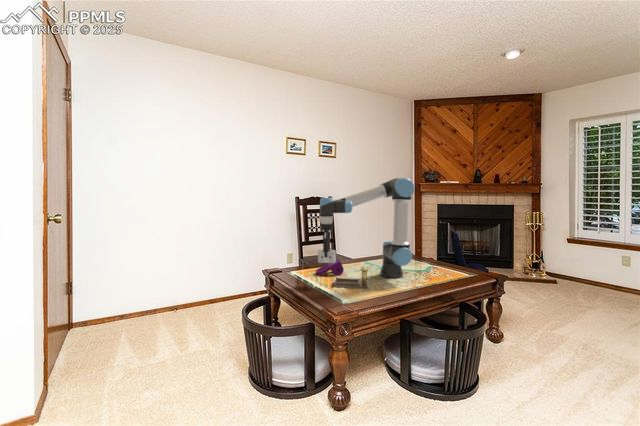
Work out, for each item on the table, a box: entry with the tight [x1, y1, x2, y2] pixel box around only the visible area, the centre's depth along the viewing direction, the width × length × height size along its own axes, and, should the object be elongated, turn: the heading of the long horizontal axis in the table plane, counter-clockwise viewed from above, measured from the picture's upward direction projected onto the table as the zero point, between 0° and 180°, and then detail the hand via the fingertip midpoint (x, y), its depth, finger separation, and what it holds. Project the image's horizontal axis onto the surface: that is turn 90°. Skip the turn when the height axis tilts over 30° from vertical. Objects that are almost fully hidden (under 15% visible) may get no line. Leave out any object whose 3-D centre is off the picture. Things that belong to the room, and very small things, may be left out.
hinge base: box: [333, 267, 369, 290], centre depth 199 cm, size 20×12×10 cm, turn 81°
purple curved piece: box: [315, 258, 345, 276], centre depth 225 cm, size 10×8×18 cm
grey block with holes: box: [317, 249, 337, 264], centre depth 200 cm, size 10×5×7 cm, turn 80°
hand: (326, 261), depth 200 cm, fingers closed on grey block with holes, 5 cm apart
